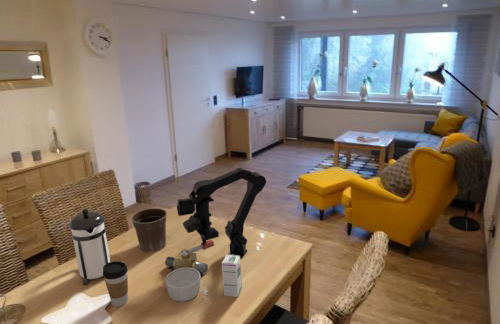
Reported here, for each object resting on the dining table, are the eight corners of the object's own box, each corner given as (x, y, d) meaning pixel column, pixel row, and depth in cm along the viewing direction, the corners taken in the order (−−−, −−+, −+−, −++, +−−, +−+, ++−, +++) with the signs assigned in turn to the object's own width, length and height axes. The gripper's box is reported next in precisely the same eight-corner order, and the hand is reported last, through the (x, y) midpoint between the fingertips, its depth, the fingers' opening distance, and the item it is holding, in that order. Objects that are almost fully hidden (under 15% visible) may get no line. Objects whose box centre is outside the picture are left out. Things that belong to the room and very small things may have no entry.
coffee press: (124, 266, 152) (114, 202, 144) (98, 288, 138) (86, 219, 129) (91, 260, 158) (80, 198, 149) (63, 281, 143) (49, 214, 134)
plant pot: (127, 251, 164) (123, 219, 160) (149, 235, 179) (145, 206, 174) (156, 257, 159) (152, 225, 154) (176, 240, 173) (173, 210, 168)
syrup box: (238, 297, 131) (237, 263, 127) (223, 295, 132) (221, 262, 128) (241, 288, 136) (240, 255, 132) (227, 286, 137) (225, 253, 133)
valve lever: (183, 258, 144) (183, 253, 143) (180, 254, 147) (179, 250, 146) (214, 246, 153) (214, 242, 152) (210, 243, 155) (210, 239, 154)
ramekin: (182, 278, 143) (181, 263, 141) (208, 288, 137) (207, 272, 135) (159, 297, 132) (157, 281, 130) (186, 308, 126) (185, 292, 124)
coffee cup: (111, 294, 134) (106, 260, 130) (134, 293, 135) (129, 258, 131) (104, 309, 126) (98, 273, 122) (128, 307, 127) (123, 272, 123)
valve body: (209, 270, 148) (208, 255, 146) (202, 278, 143) (201, 263, 141) (172, 262, 154) (170, 248, 152) (164, 270, 149) (162, 256, 147)
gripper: (176, 206, 152) (179, 238, 157) (192, 225, 136) (194, 259, 141) (200, 201, 157) (202, 231, 162) (218, 218, 142) (219, 251, 147)
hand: (204, 243), depth 153 cm, fingers closed
